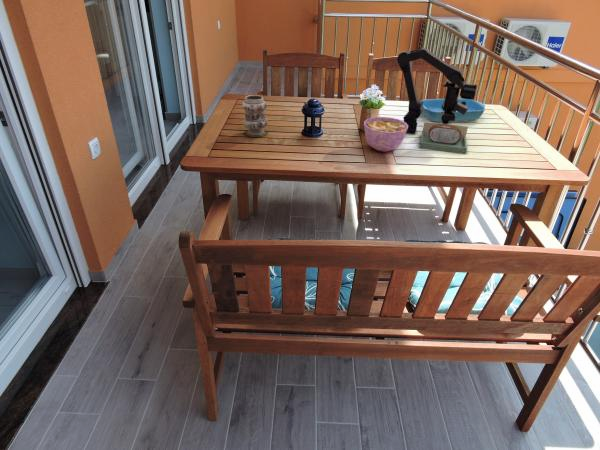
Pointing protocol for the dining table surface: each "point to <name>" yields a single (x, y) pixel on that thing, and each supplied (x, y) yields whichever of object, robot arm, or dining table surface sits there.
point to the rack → (428, 144)
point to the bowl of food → (384, 132)
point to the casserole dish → (434, 111)
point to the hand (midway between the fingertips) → (444, 128)
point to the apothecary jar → (254, 115)
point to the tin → (444, 134)
